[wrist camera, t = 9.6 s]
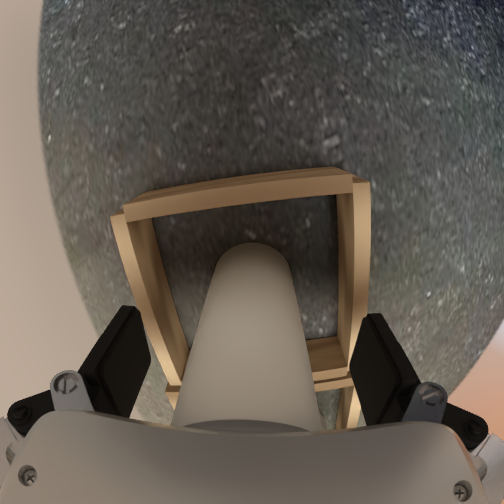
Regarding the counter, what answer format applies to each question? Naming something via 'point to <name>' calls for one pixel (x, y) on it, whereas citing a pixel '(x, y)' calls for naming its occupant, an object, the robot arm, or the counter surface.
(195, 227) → the counter surface
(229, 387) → the frosted tube
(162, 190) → the oak rack
